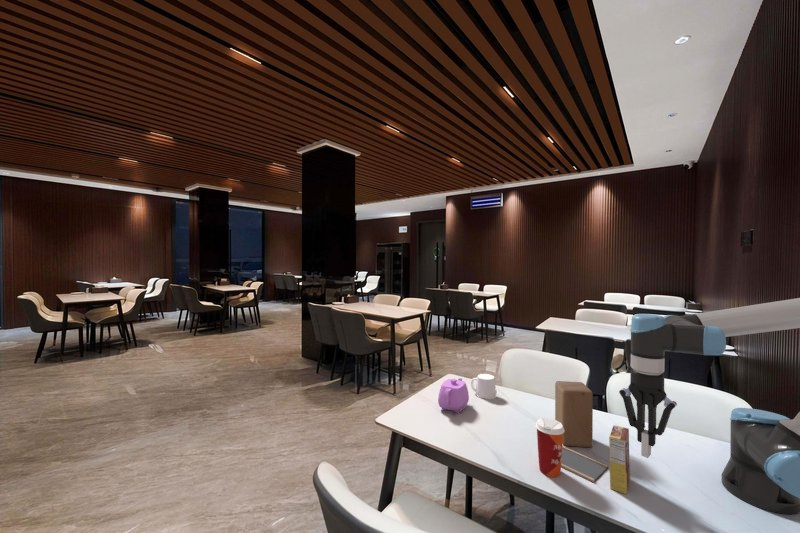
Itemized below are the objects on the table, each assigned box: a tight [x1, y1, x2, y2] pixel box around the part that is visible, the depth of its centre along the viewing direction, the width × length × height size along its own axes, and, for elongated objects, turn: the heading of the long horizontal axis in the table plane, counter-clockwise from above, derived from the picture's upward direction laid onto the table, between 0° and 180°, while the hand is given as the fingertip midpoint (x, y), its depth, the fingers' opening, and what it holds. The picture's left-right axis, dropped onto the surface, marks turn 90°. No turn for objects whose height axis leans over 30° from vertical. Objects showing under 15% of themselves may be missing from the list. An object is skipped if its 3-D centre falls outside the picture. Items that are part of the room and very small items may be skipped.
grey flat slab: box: [561, 445, 609, 483], centre depth 108 cm, size 16×11×1 cm
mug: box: [470, 373, 498, 400], centre depth 161 cm, size 12×9×8 cm
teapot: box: [437, 377, 470, 414], centre depth 148 cm, size 20×12×13 cm, turn 151°
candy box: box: [608, 424, 631, 495], centre depth 97 cm, size 9×4×15 cm, turn 140°
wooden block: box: [554, 380, 594, 448], centre depth 121 cm, size 10×10×20 cm
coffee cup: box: [535, 417, 565, 478], centre depth 104 cm, size 8×8×15 cm
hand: (646, 455), depth 92 cm, fingers closed
